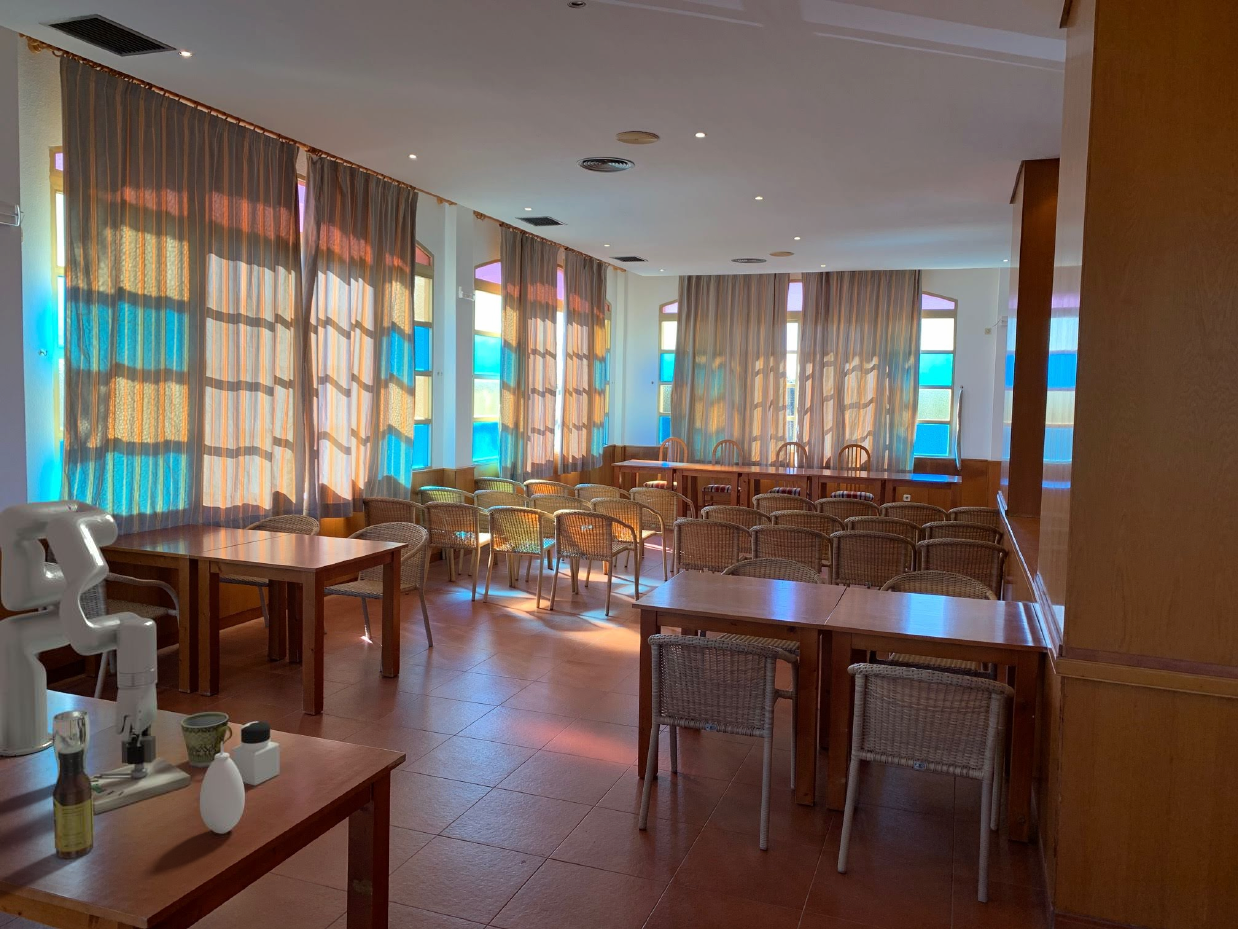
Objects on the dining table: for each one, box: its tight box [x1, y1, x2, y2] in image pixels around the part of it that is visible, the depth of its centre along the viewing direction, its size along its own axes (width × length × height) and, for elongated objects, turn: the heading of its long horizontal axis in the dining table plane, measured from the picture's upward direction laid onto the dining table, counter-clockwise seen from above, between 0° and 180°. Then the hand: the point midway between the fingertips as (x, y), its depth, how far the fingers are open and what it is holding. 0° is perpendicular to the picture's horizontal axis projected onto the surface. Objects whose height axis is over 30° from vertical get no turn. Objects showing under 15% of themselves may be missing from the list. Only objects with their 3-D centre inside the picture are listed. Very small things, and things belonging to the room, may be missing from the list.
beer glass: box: [51, 709, 91, 784], centre depth 196 cm, size 7×7×15 cm
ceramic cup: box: [180, 711, 233, 768], centre depth 208 cm, size 13×10×10 cm
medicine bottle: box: [231, 720, 280, 787], centre depth 201 cm, size 7×7×12 cm
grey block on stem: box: [99, 735, 157, 778], centre depth 195 cm, size 3×11×8 cm, turn 95°
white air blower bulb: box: [199, 741, 246, 835], centre depth 176 cm, size 8×8×18 cm
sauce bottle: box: [52, 745, 95, 859], centre depth 167 cm, size 7×6×20 cm
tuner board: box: [89, 756, 191, 815], centre depth 194 cm, size 15×19×2 cm
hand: (138, 760), depth 196 cm, fingers closed on grey block on stem, 2 cm apart
